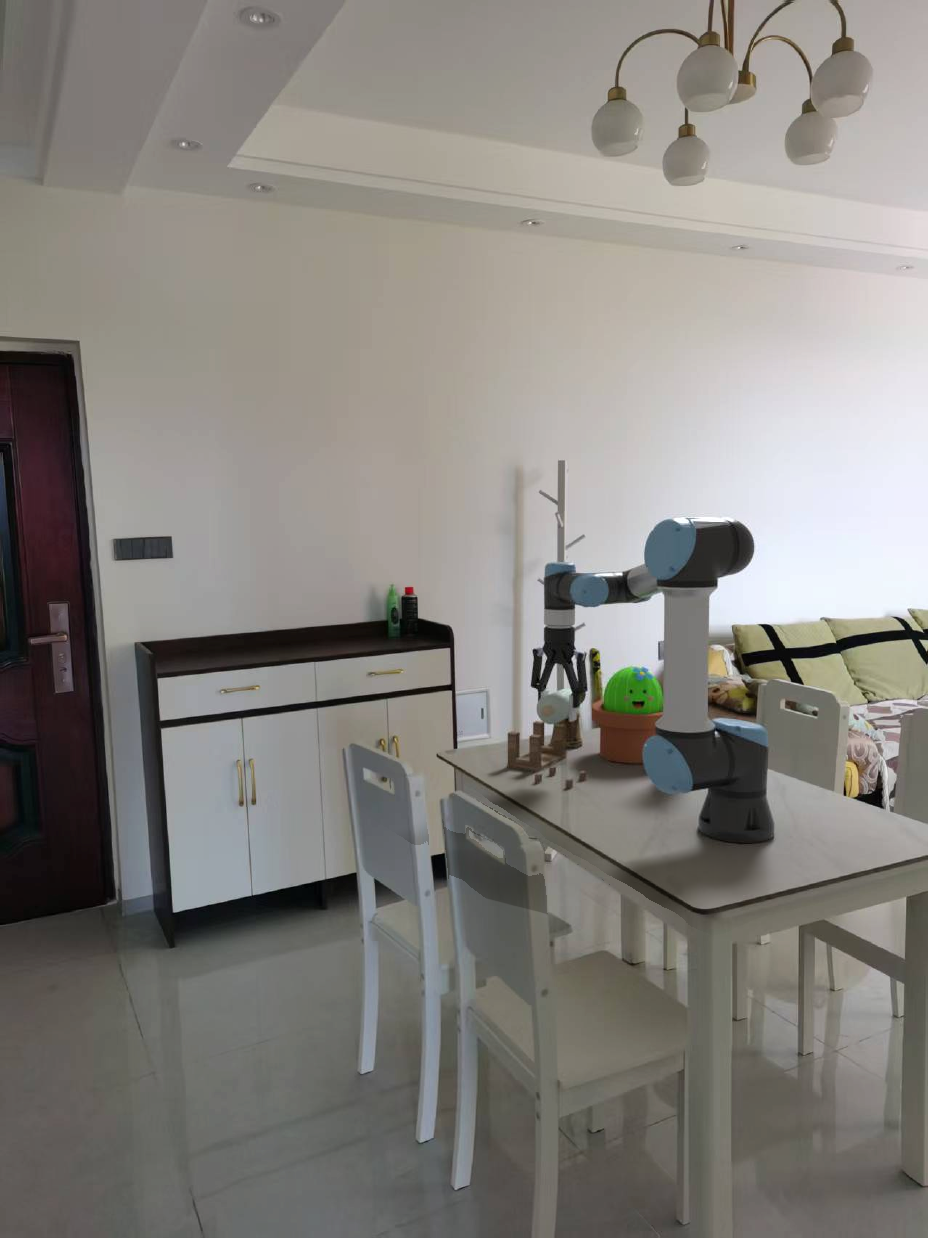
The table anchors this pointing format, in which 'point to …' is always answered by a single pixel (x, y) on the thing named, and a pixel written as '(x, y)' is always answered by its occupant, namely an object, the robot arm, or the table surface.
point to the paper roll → (554, 706)
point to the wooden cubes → (553, 771)
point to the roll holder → (537, 748)
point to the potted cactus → (628, 714)
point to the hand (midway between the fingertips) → (558, 718)
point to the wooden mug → (571, 730)
